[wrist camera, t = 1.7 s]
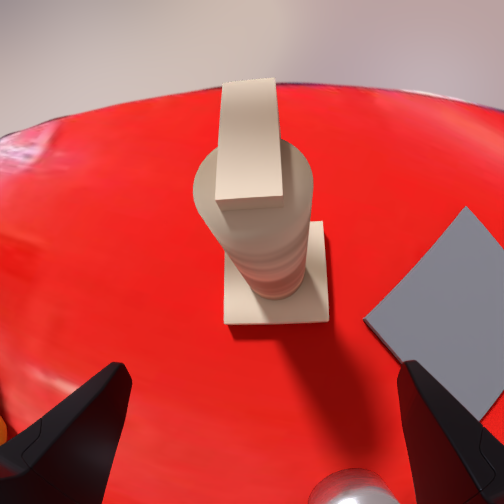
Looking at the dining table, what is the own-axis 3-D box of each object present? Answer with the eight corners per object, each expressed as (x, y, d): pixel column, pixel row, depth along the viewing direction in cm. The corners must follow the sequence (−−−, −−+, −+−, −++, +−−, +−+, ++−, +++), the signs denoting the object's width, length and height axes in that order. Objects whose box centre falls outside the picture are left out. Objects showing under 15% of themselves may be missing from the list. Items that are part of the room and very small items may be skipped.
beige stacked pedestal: (327, 321, 21) (378, 275, 8) (227, 324, 22) (131, 284, 9) (320, 218, 24) (339, 75, 10) (228, 223, 24) (162, 93, 11)
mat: (543, 316, 18) (548, 315, 17) (460, 435, 17) (465, 437, 16) (462, 209, 22) (466, 205, 21) (362, 319, 21) (365, 318, 20)
